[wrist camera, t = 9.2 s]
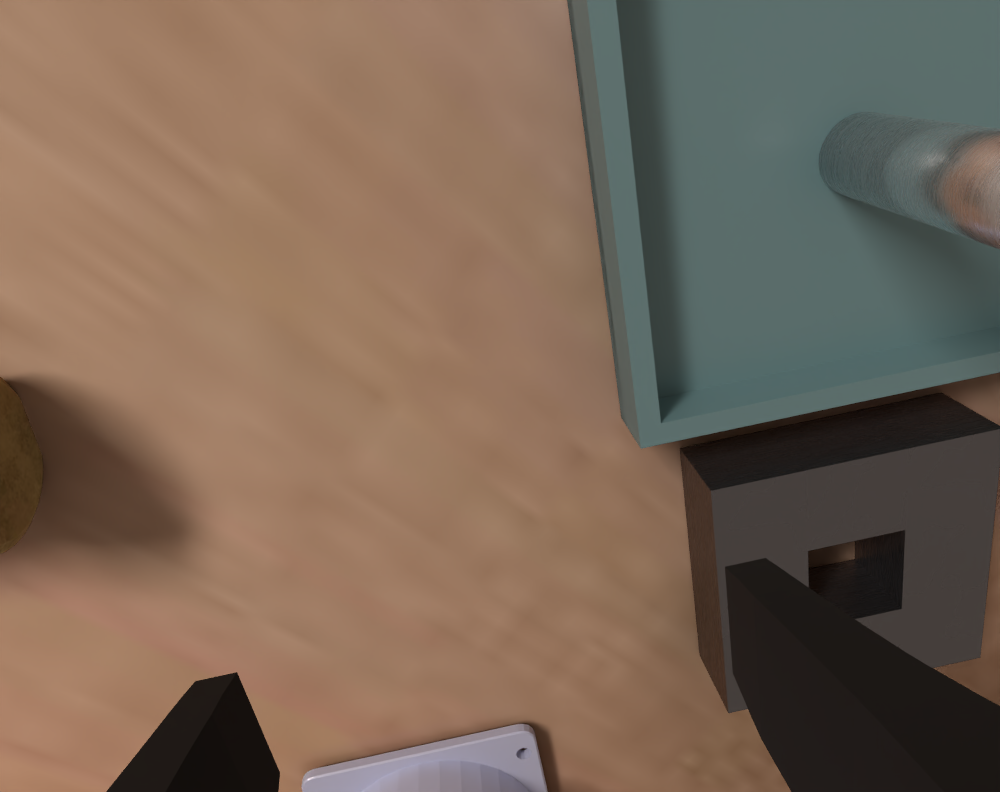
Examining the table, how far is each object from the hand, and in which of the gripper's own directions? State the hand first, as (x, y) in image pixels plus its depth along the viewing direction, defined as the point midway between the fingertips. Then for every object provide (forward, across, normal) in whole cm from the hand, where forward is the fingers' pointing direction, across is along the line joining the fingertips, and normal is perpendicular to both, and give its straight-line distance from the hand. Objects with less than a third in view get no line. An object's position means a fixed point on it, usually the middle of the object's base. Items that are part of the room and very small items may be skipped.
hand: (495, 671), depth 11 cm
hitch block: (+10, -10, +7) cm, 16 cm away
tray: (+10, -11, -5) cm, 16 cm away
